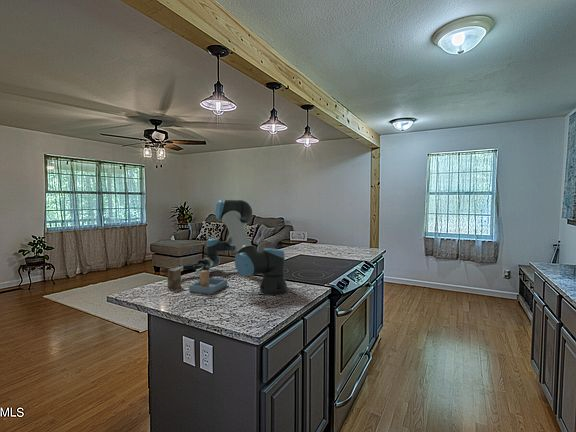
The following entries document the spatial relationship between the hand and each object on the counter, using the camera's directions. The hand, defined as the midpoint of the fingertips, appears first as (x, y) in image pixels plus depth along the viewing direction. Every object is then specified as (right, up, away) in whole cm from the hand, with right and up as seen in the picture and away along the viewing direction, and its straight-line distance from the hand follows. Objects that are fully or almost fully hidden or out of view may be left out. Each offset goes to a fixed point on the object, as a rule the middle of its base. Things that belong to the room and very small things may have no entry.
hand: (186, 271), depth 188 cm
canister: (+15, -7, -17) cm, 24 cm away
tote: (+17, -7, -13) cm, 22 cm away
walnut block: (-3, -7, -10) cm, 13 cm away
